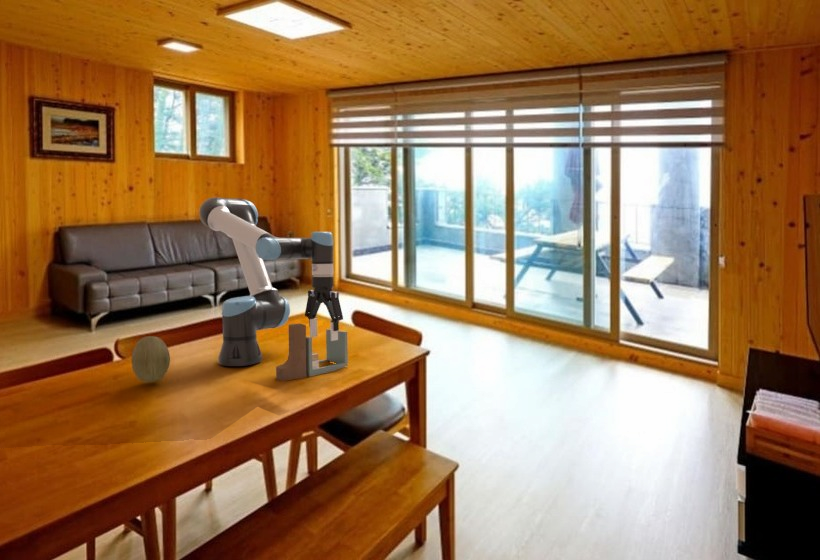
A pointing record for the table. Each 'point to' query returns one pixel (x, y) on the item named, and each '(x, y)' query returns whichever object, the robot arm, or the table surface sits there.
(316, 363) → the offcut mid
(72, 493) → the table surface
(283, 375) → the wooden block
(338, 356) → the rack
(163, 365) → the fruit
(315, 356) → the offcut top
